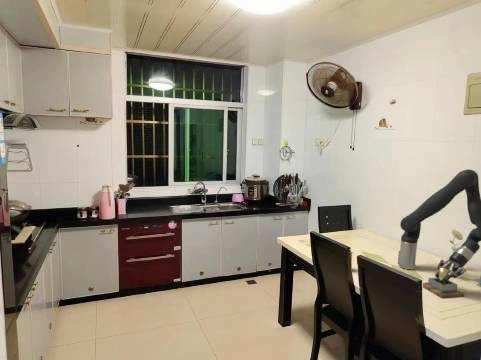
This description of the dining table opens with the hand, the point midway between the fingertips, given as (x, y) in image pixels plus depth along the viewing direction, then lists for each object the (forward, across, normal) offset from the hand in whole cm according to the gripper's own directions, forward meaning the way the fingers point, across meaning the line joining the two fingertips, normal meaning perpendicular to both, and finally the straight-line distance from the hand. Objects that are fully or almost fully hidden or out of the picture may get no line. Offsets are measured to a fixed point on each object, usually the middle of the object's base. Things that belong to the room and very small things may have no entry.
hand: (440, 278), depth 173 cm
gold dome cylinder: (+2, 0, +4) cm, 5 cm away
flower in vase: (-20, -27, +30) cm, 45 cm away
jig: (+4, 0, +6) cm, 7 cm away
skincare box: (+31, -34, -20) cm, 50 cm away
